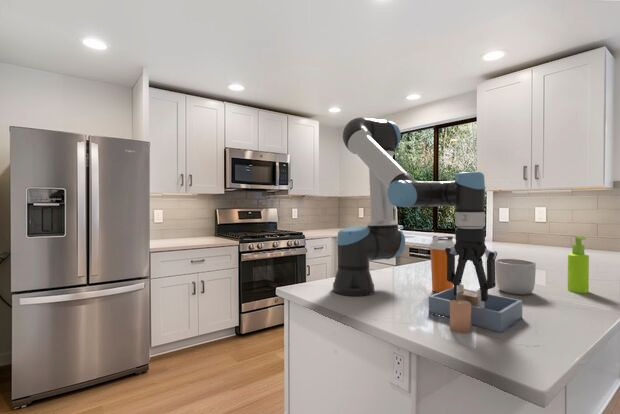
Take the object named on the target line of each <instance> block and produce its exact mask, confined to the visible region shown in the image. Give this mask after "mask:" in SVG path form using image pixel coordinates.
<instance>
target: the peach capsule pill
mask: <svg viewBox="0 0 620 414" xmlns="http://www.w3.org/2000/svg"><path fill="white" fill-rule="evenodd" d="M449 330H450V331H452V330H453V331H452V332H454V331H455V333H458V332H459V334H469V332H470V333H471V332H472V325H471V303H470V302H468V301H465V300H451V301H450V319H449Z"/></svg>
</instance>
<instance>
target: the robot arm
mask: <svg viewBox="0 0 620 414" xmlns="http://www.w3.org/2000/svg"><path fill="white" fill-rule="evenodd" d="M401 141H402V133H401V131H400V128H399V126H398V124H396V123H395V122H393V121H391V120H387V119H379V118H369V117H361V116H360V117H355V118H353V119H351V120H349V122H348V123H347V124H346V125H345V126H344V128H343V130H342V142H343V143H344V146H345V147H346V148H347V150H348V151H349V152H350V153H351V154H353V155H356V156H357V157H358V158H359V159H360V160H361V161H362V162H363V163H364V164H365V165H366V166H367V168H368V171H369V173H368V175H369V176H368V178H369V199H370V221H369V222H368V224H367V225H366V226H364V225H363V226H362V225H360V226H359V225H357V226H350V227H345V228H342V229H340V230H339V231H338V233H337V239H336V245H337V249H336V250H337V271H336V274H335V276H334V277H335V278H334V281H333V283H332V290H333V292H334V293H335V294H339V295H342V296H349V297H362V296H363V297H364V296H369V295H371V294H374V292H375V284H374V281H373V279H372V278H373V277H372V274H371V270H370V261H379V260H392V259H396V258H398V257H399V256H401V254H402V253H403V252H404V250H405V246H406V237H405V234H404V233H403V231H402V230H401V229H400V228H399V224H398V222H397V221H395V219H394V216H395V215H394V207H400V208H401V207H402V208H412V207H413V208H414V207H454V209H455V210H454V211H455V215H454V217H455V219H454V220H455V223H454V224H455V225H454V226H456V228H455V233H454V235H455V237H454V238H455V242H454V243H455V245H454V247H448V248H446V249H445V251H446V254H447V281H449V282H452V283H453V287H454V295H455V296H457V293H460V292H462V291H464V289H465V287H464V285H465V284H462V283H463V281H462V279H463V276H464V272H465V268H466V265H467V262H468V261H470V262H472V265H473V266H474V269H475V274H476V277H477V281H478V285H479V288H477V289H476V291H477V304H478V307H481V308H484V302H485V301H487V300H488V294H489V289H490V290H492V289H493V288H495V287H496V285H497V283H496V260H497V257H498V252H497V251H492V250H490V249H487V246H486V229H485V228H484V227H485V226H486V210H485V201H486V184H485V183H486V182H485V174H484V173H483V172H480V171H464V172H458V173H456V174H455V175H454V180H447V181H446V180H445V181H431V180H430V181H429V180H427V181H426V180H416V179H414V177H412V176H411V175H410V174H409V173H408V172H407V171H406V170H405V168H403V167H402V166H401V165H400V164H399V163H398V162H397V161H395V159H393V156H395V154H396V150H397V149H398V147H399V146H400V143H401ZM456 253H457V254H458V258H457V266H456ZM484 255H485V257H486V273H485V268H484V264H483V263H484V262H483V261H484V260H483V259H482V257H483V256H484Z"/></svg>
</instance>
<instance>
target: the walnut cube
mask: <svg viewBox="0 0 620 414" xmlns="http://www.w3.org/2000/svg"><path fill="white" fill-rule="evenodd" d="M457 300H465V301H468V302H470V303H471V305H472V306H477V307H478V304H477V293H476V292H471V291H462V292H460V293H457Z"/></svg>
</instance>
